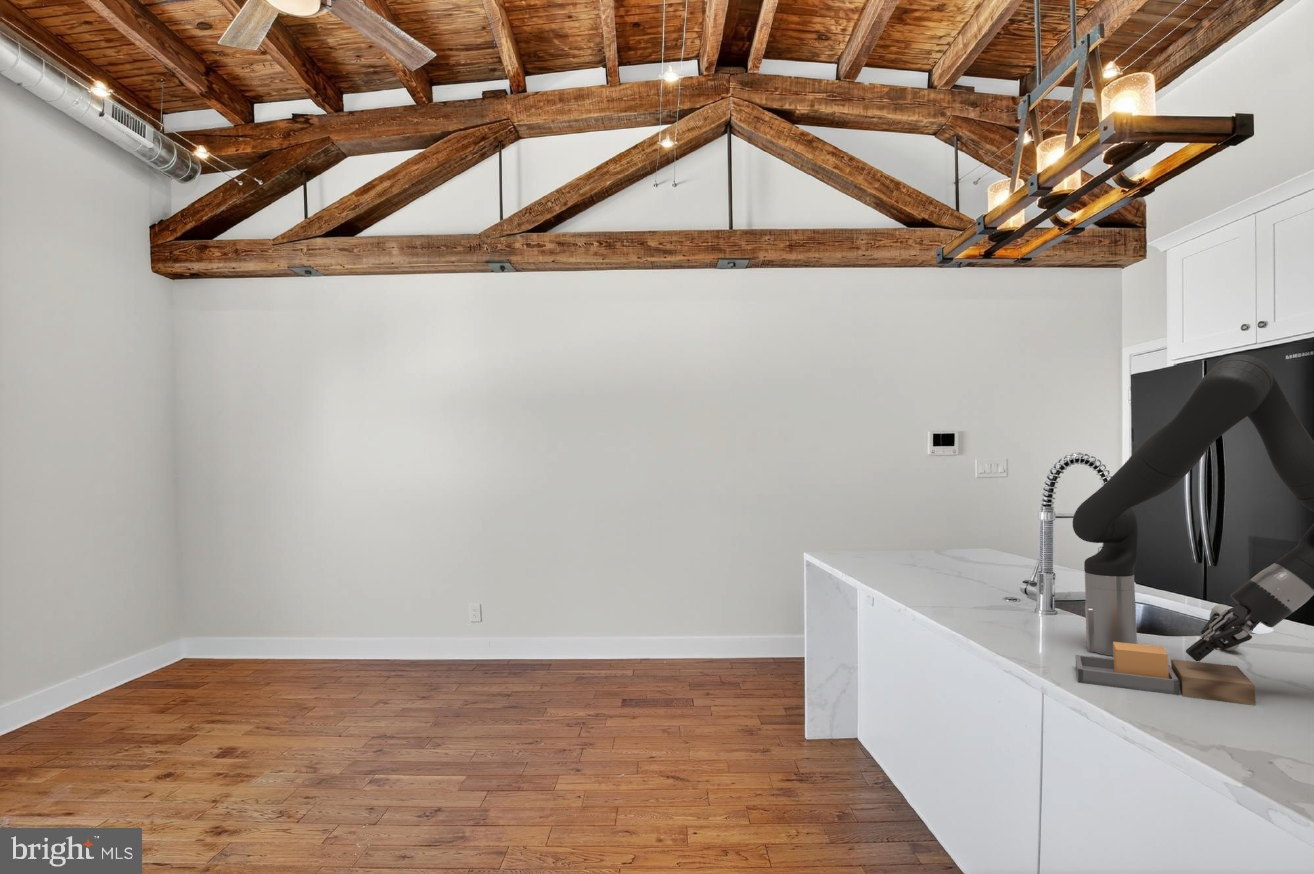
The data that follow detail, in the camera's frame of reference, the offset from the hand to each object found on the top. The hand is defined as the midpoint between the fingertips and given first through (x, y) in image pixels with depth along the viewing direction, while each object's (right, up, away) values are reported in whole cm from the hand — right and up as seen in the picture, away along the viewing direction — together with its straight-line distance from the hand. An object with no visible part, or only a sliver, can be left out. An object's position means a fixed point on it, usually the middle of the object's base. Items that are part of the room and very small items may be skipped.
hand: (1190, 656), depth 126 cm
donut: (+27, -7, +24) cm, 36 cm away
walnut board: (+3, -6, -1) cm, 6 cm away
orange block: (-4, -2, +1) cm, 5 cm away
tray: (-9, -6, +5) cm, 12 cm away
